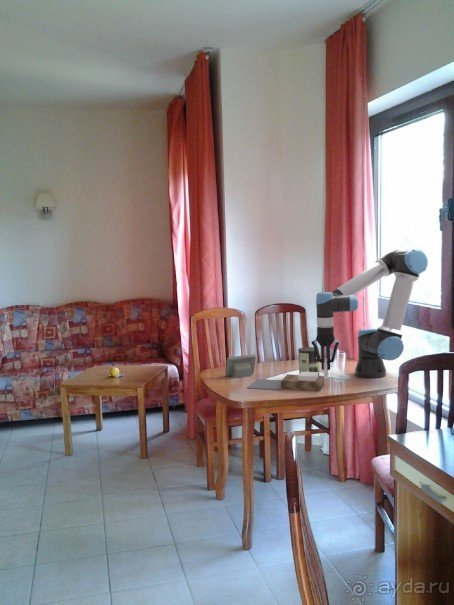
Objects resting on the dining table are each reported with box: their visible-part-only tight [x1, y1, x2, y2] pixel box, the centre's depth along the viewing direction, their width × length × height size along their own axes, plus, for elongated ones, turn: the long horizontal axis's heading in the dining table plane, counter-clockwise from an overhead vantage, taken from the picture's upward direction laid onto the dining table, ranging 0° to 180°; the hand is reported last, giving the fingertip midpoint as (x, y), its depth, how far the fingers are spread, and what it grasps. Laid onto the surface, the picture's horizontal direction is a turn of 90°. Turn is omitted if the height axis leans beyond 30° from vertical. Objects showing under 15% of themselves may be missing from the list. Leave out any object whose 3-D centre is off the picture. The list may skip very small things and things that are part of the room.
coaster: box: [297, 372, 318, 381], centre depth 247 cm, size 8×8×2 cm
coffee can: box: [297, 346, 320, 376], centre depth 265 cm, size 10×10×14 cm
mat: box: [246, 378, 282, 391], centre depth 254 cm, size 16×16×1 cm
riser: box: [280, 373, 325, 392], centre depth 248 cm, size 18×12×4 cm, turn 70°
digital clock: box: [225, 353, 257, 379], centre depth 274 cm, size 16×9×11 cm, turn 98°
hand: (326, 376), depth 244 cm, fingers closed
